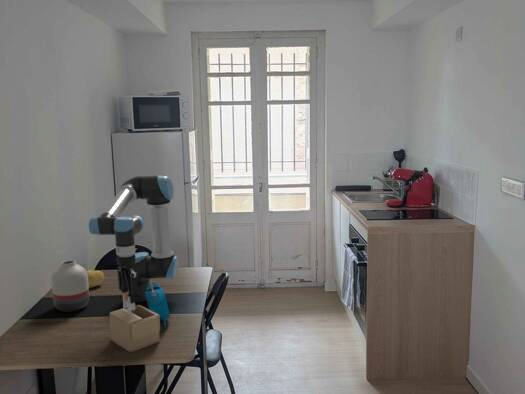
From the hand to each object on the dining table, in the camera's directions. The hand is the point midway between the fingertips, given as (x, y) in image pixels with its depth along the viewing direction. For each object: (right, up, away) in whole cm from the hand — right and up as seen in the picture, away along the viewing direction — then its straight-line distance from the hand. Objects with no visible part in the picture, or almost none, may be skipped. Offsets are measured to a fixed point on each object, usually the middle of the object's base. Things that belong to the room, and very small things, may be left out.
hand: (129, 308), depth 215 cm
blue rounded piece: (+8, -11, +23) cm, 27 cm away
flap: (-1, -3, -1) cm, 4 cm away
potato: (-40, -4, +70) cm, 81 cm away
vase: (-39, -9, +42) cm, 58 cm away
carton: (+2, -15, +4) cm, 15 cm away
